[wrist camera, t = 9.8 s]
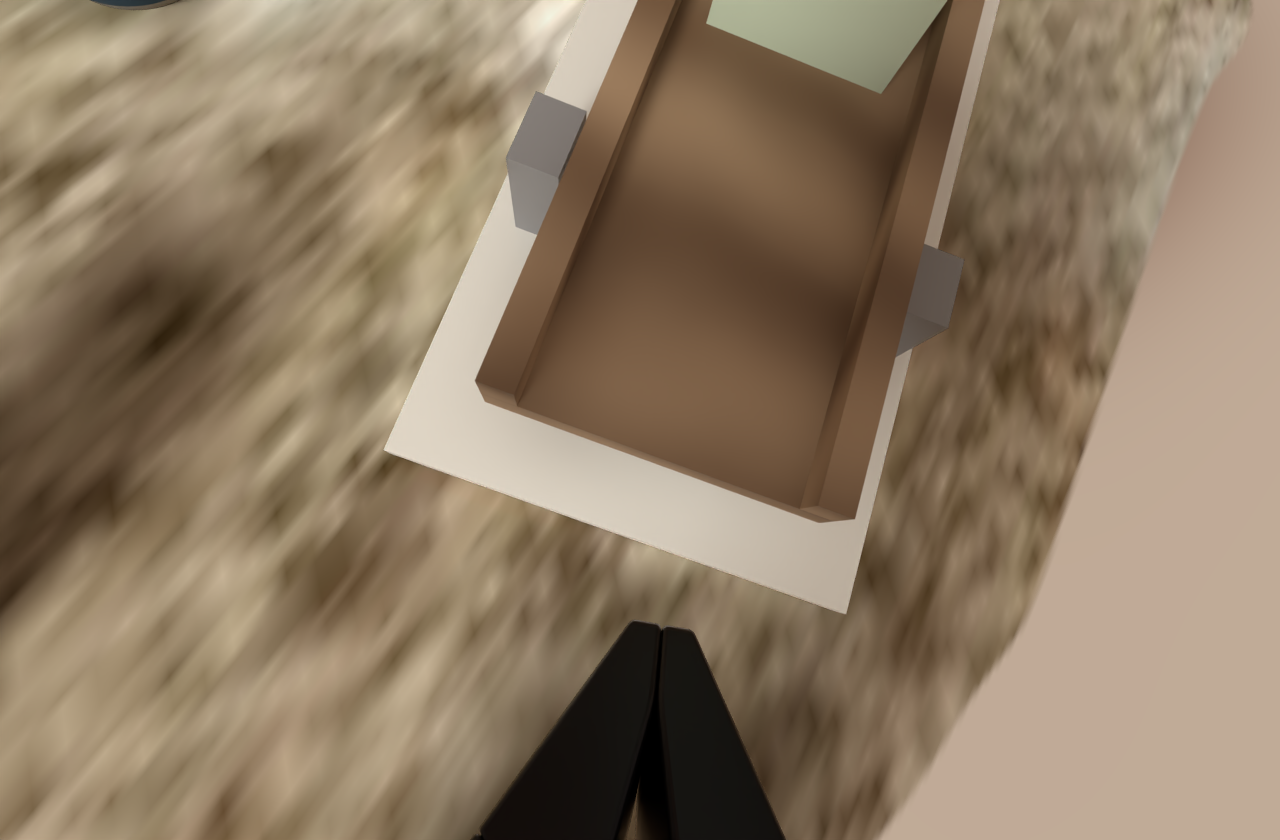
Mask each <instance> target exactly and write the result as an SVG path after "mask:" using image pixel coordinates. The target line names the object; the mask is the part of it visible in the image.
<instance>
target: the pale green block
mask: <svg viewBox="0 0 1280 840" xmlns="http://www.w3.org/2000/svg"><path fill="white" fill-rule="evenodd" d="M946 2H947V0H713V1H712V5H711V8H710V12H709V15H708V19H707V22H706V24H709V25H711V26H714V27H716V28H719V29H721V30H724V31H726V32H729V33H731V34H734V35H736V36H739V37H741V38H744V39H746V40H749V41H751V42H753V43H756V44H758V45H761V46H763V47H766V48H768V49H771V50H773V51H776V52H778V53H781V54H783V55H786V56H788V57H791V58H793V59H796V60H798V61H801V62H803V63H805V64H808V65H810V66H813V67H815V68H818V69H820V70H823V71H825V72H828V73H830V74H833V75H835V76H838V77H840V78H843V79H845V80H848V81H850V82H853V83H855V84H857V85H860V86H862V87H865V88H867V89H870V90H872V91H875V92H877V93H880V94H881V93H882V92H883V91H884V89H885V88H886V86H887V85H888V84H889V82H890V81H891V79H892V78H893V76H894V75H895V74H896V72H897V71H898V69H899V68H900V67H901V65H902V64H903V62H904V61H905V60H906V58H907V57H908V55H909V54H910V52H911V51H912V50H913V48H914V47H915V45H916V44H917V43H918V41H919V40H920V38H921V37H922V36H923V34H924V33H925V31H926V30H927V28H928V27H929V26H930V24H931V23H932V21H933V20H934V19H935V17H936V16H937V14H938V13H939V12H940V10H941V9H942V7H943V6H944V5H945V3H946Z"/></svg>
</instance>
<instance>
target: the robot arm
mask: <svg viewBox="0 0 1280 840" xmlns="http://www.w3.org/2000/svg"><path fill="white" fill-rule="evenodd" d="M637 789H638V793H637ZM636 794H637V804H636V828H635V840H786V839H785V836H784V834H783V832H782V830H781V827H780V825H779V823H778V820H777V818H776V816H775V814H774V811H773V809H772V807H771V805H770V802H769V800H768V798H767V796H766V793H765V791H764V789H763V787H762V784H761V782H760V780H759V778H758V775H757V773H756V771H755V769H754V766H753V764H752V762H751V760H750V757H749V755H748V753H747V751H746V748H745V746H744V744H743V741H742V739H741V737H740V735H739V732H738V730H737V728H736V726H735V723H734V721H733V719H732V717H731V714H730V712H729V710H728V708H727V705H726V703H725V701H724V699H723V696H722V694H721V692H720V690H719V687H718V685H717V683H716V681H715V678H714V676H713V674H712V671H711V669H710V667H709V665H708V662H707V660H706V658H705V656H704V653H703V651H702V649H701V647H700V644H699V642H698V640H697V638H696V636H695V634H694V632H693V631H691V630H690V629H685V628H679V627H673V626H664V627H663V628H662V630H661V627H660V625H659V624H656V623H651V622H645V621H639V620H632V621H631V622H630V623H628V625H627V626H626V627H625V629H624V630H623V632H622V633H621V634H620V636H619V637H618V638H617V640H616V641H615V643H614V644H613V645H612V647H611V648H610V649H609V651H608V652H607V654H606V655H605V656H604V658H603V659H602V660H601V662H600V663H599V664H598V666H597V667H596V669H595V670H594V671H593V673H592V674H591V675H590V677H589V678H588V680H587V681H586V682H585V684H584V685H583V686H582V688H581V689H580V691H579V692H578V693H577V695H576V696H575V697H574V699H573V700H572V702H571V703H570V704H569V706H568V707H567V708H566V710H565V711H564V712H563V714H562V715H561V717H560V718H559V719H558V721H557V722H556V723H555V725H554V726H553V728H552V729H551V730H550V732H549V733H548V734H547V736H546V737H545V739H544V740H543V741H542V743H541V744H540V745H539V747H538V748H537V750H536V751H535V752H534V754H533V755H532V756H531V758H530V759H529V761H528V762H527V763H526V765H525V766H524V767H523V769H522V770H521V771H520V773H519V774H518V776H517V777H516V778H515V780H514V781H513V782H512V784H511V785H510V787H509V788H508V789H507V791H506V792H505V793H504V795H503V796H502V798H501V799H500V800H499V802H498V803H497V804H496V806H495V807H494V809H493V810H492V811H491V813H490V814H489V815H488V817H487V818H486V819H485V821H484V822H483V824H482V825H481V826H480V828H479V834H475V835H474V836H473V837H472V838H471V839H470V840H626V838H627V834H628V830H629V826H630V822H631V818H632V813H633V808H634V804H635V799H636Z"/></svg>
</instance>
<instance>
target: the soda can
mask: <svg viewBox="0 0 1280 840" xmlns="http://www.w3.org/2000/svg"><path fill="white" fill-rule="evenodd" d="M91 1H93V2H96V3H99V4H101V5H105V6H108V7H112V8H118V9H126V10H143V9H152V8H157V7H161V6H165V5H168V4H171V3H174V2H176V1H178V0H91Z"/></svg>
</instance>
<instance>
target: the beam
mask: <svg viewBox="0 0 1280 840" xmlns="http://www.w3.org/2000/svg"><path fill="white" fill-rule="evenodd" d="M712 1H713V0H638V1H637V3H636V5H635V8H634V10H633V12H632V15H631V17H630V19H629V22H628V24H627V26H626V29H625V31H624V33H623V36H622V38H621V40H620V43H619V45H618V47H617V50H616V52H615V54H614V57H613V59H612V61H611V64H610V66H609V68H608V71H607V73H606V75H605V78H604V80H603V82H602V85H601V87H600V89H599V92H598V94H597V96H596V99H595V101H594V103H593V106H592V108H591V110H590V113H589V115H588V117H587V120H586V122H585V124H584V127H583V129H582V131H581V134H580V136H579V138H578V141H577V143H576V145H575V148H574V150H573V152H572V155H571V157H570V159H569V162H568V164H567V166H566V169H565V171H564V173H563V176H562V178H561V180H560V183H559V185H558V187H557V190H556V192H555V194H554V197H553V199H552V201H551V204H550V206H549V208H548V211H547V213H546V215H545V218H544V220H543V222H542V225H541V227H540V229H539V232H538V234H537V236H536V239H535V241H534V243H533V246H532V248H531V250H530V253H529V255H528V257H527V260H526V262H525V264H524V267H523V269H522V271H521V274H520V276H519V278H518V281H517V283H516V285H515V288H514V290H513V292H512V295H511V297H510V299H509V302H508V304H507V306H506V309H505V311H504V313H503V316H502V318H501V320H500V323H499V325H498V327H497V330H496V332H495V334H494V337H493V339H492V341H491V344H490V346H489V348H488V351H487V353H486V355H485V358H484V360H483V362H482V365H481V367H480V369H479V372H478V374H477V376H476V379H475V382H476V384H477V386H478V389H479V391H480V393H481V395H482V397H483V399H484V401H485V402H486V403H489V404H492V405H495V406H497V407H500V408H503V409H506V410H509V411H511V412H514V413H517V414H520V415H522V416H525V417H528V418H531V419H533V420H536V421H539V422H542V423H544V424H547V425H550V426H553V427H555V428H558V429H561V430H564V431H566V432H569V433H572V434H575V435H577V436H580V437H583V438H586V439H588V440H591V441H594V442H597V443H599V444H602V445H605V446H608V447H610V448H613V449H616V450H619V451H621V452H624V453H627V454H630V455H632V456H635V457H638V458H641V459H644V460H646V461H649V462H652V463H655V464H657V465H660V466H663V467H666V468H668V469H671V470H674V471H677V472H679V473H682V474H685V475H688V476H690V477H693V478H696V479H699V480H701V481H704V482H707V483H710V484H712V485H715V486H718V487H721V488H723V489H726V490H729V491H732V492H734V493H737V494H740V495H743V496H745V497H748V498H751V499H754V500H756V501H759V502H762V503H765V504H767V505H770V506H773V507H776V508H779V509H781V510H784V511H787V512H790V513H792V514H795V515H798V516H801V517H803V518H806V519H809V520H812V521H814V522H817V523H825V522H834V521H843V520H853V519H855V517H856V513H857V509H858V505H859V501H860V497H861V493H862V489H863V485H864V481H865V477H866V473H867V469H868V465H869V461H870V457H871V453H872V449H873V445H874V441H875V437H876V433H877V429H878V425H879V421H880V417H881V413H882V410H883V406H884V402H885V398H886V394H887V390H888V386H889V382H890V378H891V374H892V370H893V366H894V362H895V358H896V354H897V350H898V346H899V342H900V338H901V334H902V330H903V326H904V322H905V318H906V314H907V310H908V306H909V302H910V298H911V294H912V290H913V286H914V282H915V278H916V274H917V270H918V266H919V262H920V258H921V254H922V250H923V246H924V242H925V238H926V234H927V230H928V226H929V222H930V218H931V214H932V210H933V206H934V202H935V198H936V194H937V190H938V186H939V182H940V178H941V174H942V170H943V166H944V162H945V158H946V154H947V150H948V146H949V142H950V138H951V134H952V130H953V126H954V122H955V118H956V114H957V110H958V106H959V102H960V98H961V94H962V90H963V86H964V82H965V78H966V74H967V70H968V66H969V62H970V58H971V54H972V50H973V46H974V42H975V38H976V34H977V30H978V26H979V22H980V18H981V14H982V10H983V6H984V2H985V0H947V2H946V3H945V5H944V6H943V7H942V9H941V10H940V12H939V13H938V14H937V16H936V17H935V19H934V20H933V21H932V23H931V24H930V26H929V27H928V28H927V30H926V31H925V33H924V34H923V36H922V37H921V38H920V40H919V41H918V43H917V44H916V45H915V47H914V48H913V50H912V51H911V52H910V54H909V55H908V57H907V58H906V60H905V61H904V62H903V64H902V65H901V67H900V68H899V69H898V71H897V72H896V74H895V75H894V76H893V78H892V79H891V81H890V82H889V84H888V85H887V86H886V88H885V89H884V91H883V92H882V93H881V94H880V93H877V92H875V91H872V90H870V89H867V88H865V87H862V86H860V85H857V84H855V83H853V82H850V81H848V80H845V79H843V78H840V77H838V76H835V75H833V74H830V73H828V72H825V71H823V70H820V69H818V68H815V67H813V66H810V65H808V64H805V63H803V62H801V61H798V60H796V59H793V58H791V57H788V56H786V55H783V54H781V53H778V52H776V51H773V50H771V49H768V48H766V47H763V46H761V45H758V44H756V43H753V42H751V41H749V40H746V39H744V38H741V37H739V36H736V35H734V34H731V33H729V32H726V31H724V30H721V29H719V28H716V27H714V26H711V25H709V24H706V22H707V19H708V15H709V12H710V8H711V5H712Z"/></svg>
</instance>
